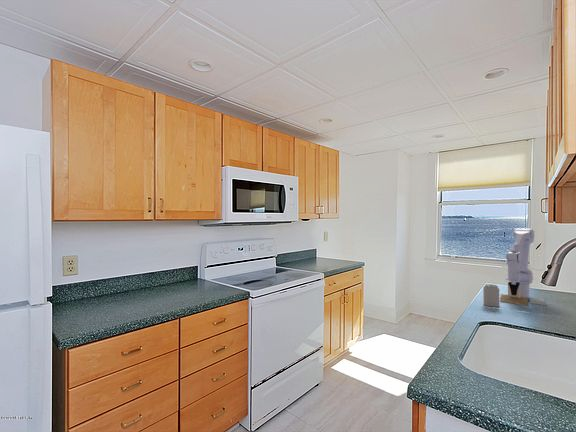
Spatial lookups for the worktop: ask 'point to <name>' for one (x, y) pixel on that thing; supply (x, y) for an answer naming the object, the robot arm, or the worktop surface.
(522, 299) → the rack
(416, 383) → the worktop surface
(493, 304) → the can
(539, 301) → the stand
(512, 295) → the beige rectangular block
